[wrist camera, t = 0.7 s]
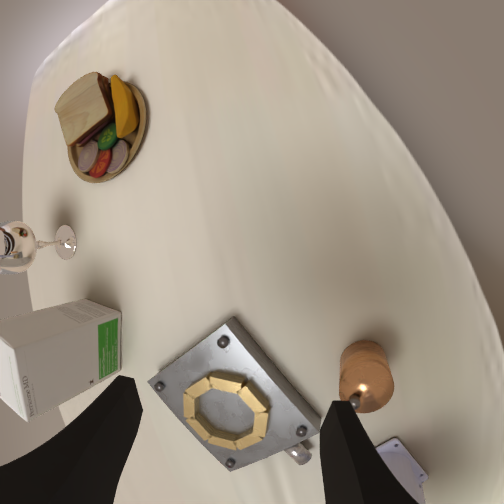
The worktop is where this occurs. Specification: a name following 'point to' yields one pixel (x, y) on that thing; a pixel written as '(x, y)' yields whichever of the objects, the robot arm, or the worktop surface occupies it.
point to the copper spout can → (365, 377)
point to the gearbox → (236, 400)
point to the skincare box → (57, 354)
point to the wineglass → (29, 246)
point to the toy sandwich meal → (101, 125)
